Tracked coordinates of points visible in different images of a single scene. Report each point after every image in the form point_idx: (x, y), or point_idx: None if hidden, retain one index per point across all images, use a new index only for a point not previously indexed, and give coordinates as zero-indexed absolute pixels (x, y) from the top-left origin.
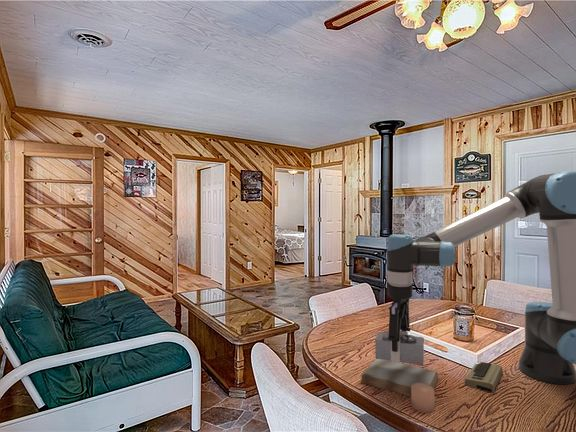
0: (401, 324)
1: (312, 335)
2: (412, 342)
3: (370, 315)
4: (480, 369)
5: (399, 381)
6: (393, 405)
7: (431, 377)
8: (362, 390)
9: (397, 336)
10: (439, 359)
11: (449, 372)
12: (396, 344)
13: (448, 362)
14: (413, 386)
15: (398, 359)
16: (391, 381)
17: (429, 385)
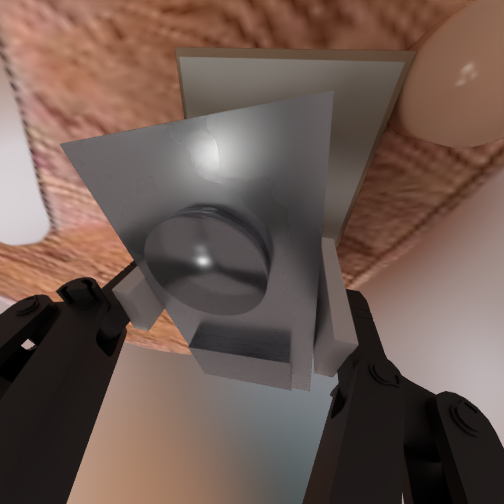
0: (98, 377)
1: (176, 351)
2: (266, 238)
3: (19, 290)
4: None
5: (341, 203)
6: (438, 195)
7: (252, 68)
8: (356, 275)
9: (465, 453)
10: (33, 88)
11: (88, 10)
12: (380, 341)
13: (17, 39)
14: (467, 135)
15: (334, 251)
16: (339, 226)
17: (454, 28)
